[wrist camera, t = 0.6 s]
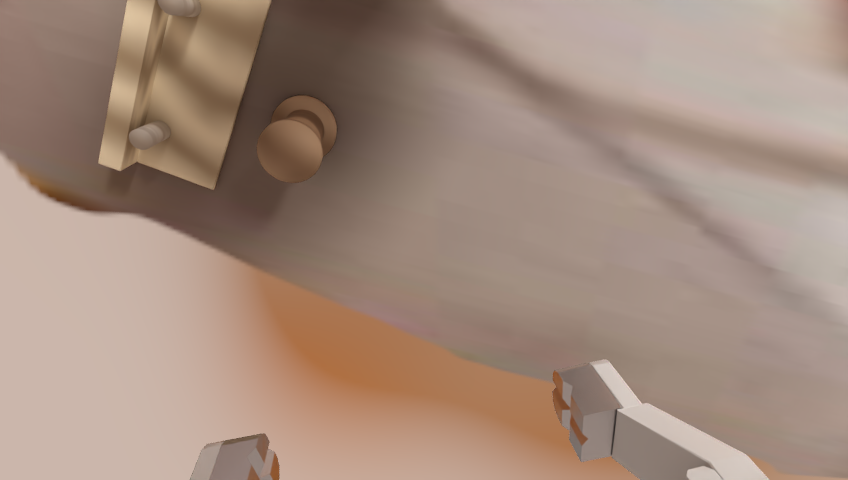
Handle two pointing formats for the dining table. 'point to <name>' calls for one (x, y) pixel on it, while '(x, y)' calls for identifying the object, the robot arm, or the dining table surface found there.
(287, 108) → the flanged spool
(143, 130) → the peg rack
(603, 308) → the dining table surface
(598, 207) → the dining table surface
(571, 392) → the robot arm
